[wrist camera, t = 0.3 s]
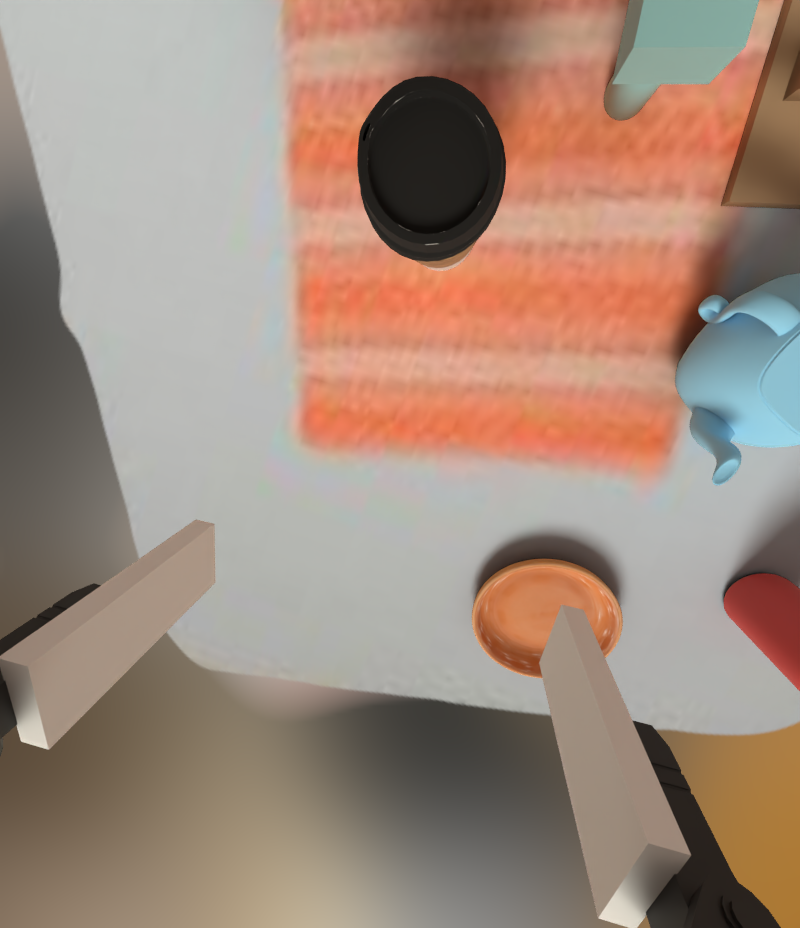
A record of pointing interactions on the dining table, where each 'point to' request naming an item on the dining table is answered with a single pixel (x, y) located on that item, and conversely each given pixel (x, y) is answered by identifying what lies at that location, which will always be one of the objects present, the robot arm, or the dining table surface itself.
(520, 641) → the saucer
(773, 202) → the bracket
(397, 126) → the coffee cup
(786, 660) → the beer can
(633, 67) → the peg
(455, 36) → the dining table surface
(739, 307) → the teapot
